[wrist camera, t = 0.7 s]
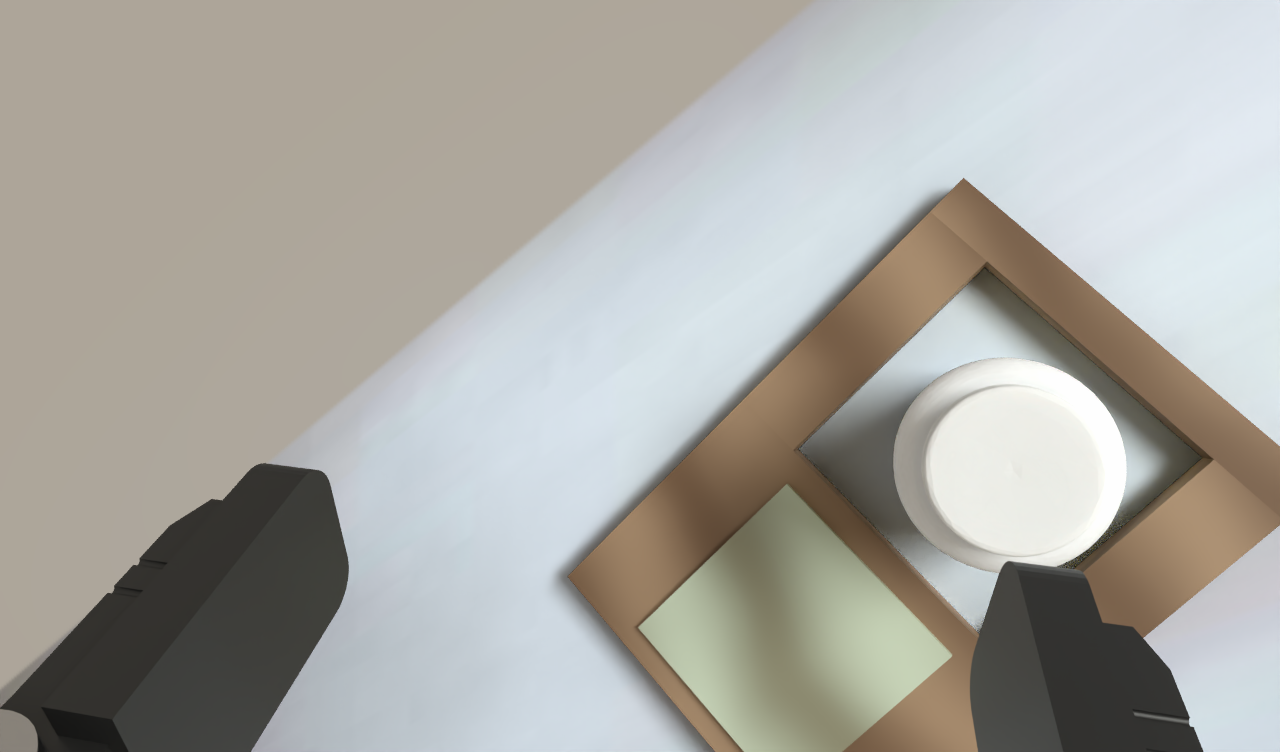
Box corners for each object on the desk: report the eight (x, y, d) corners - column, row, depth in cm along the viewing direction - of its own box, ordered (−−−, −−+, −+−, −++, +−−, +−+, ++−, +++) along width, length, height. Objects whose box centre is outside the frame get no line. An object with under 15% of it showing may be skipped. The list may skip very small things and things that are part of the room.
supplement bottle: (868, 433, 31) (839, 440, 21) (1004, 338, 30) (1040, 299, 20) (968, 567, 30) (986, 640, 20) (1114, 474, 28) (1211, 504, 19)
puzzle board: (962, 186, 30) (963, 175, 29) (1309, 483, 27) (1330, 487, 25) (579, 571, 34) (564, 577, 33) (837, 875, 30) (833, 897, 29)
